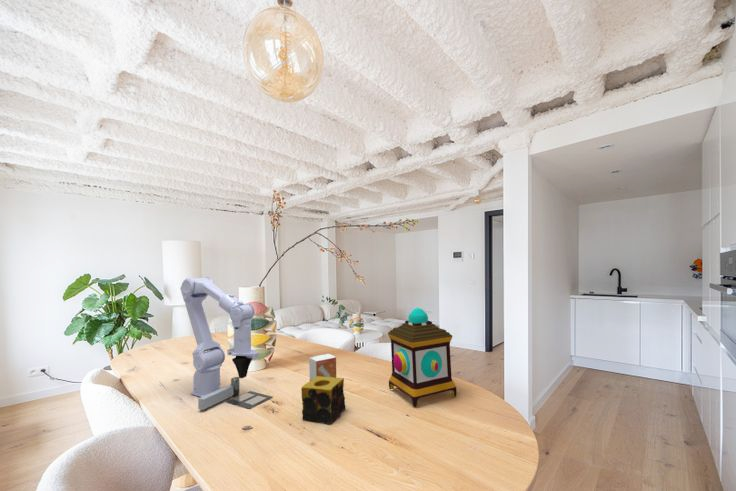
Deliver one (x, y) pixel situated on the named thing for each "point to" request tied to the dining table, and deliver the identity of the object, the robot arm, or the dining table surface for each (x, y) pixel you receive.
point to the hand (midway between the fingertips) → (242, 377)
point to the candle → (323, 399)
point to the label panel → (249, 399)
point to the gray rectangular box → (215, 397)
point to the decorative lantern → (421, 358)
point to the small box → (322, 366)
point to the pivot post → (235, 386)
